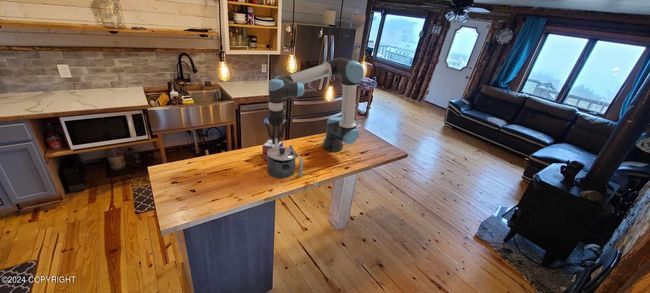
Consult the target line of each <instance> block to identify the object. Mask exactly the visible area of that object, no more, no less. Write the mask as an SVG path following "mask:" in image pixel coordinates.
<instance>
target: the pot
mask: <svg viewBox="0 0 650 293" xmlns="http://www.w3.org/2000/svg"><path fill="white" fill-rule="evenodd" d="M291 147H293V144H289V147H288V148H290V149H291ZM296 157H297V156H296ZM296 157H295V158H294V159H292V160H289V161H278V160H274V159H272V158H270V157H269V156H267V160H266V172H267V173H268V175H269V176H270V177H273V178H275V179H287V178H290V177H291V176H293V175H295V172H296V160H297V159H296ZM303 170H304V158H301V159H299V169H298V177H299V178H302V177H303V174H304V173H303Z"/></svg>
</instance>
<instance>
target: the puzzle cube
mask: <svg viewBox="0 0 650 293" xmlns="http://www.w3.org/2000/svg"><path fill="white" fill-rule="evenodd" d="M272 147H274V144H273V143H272V139H268V140H267V141H266V142H265V143H264V144H262V160H265V161H267V156H268V155H267V151H268V149H270V148H272ZM278 147H284V142H282V141H279V143H278Z"/></svg>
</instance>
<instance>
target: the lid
mask: <svg viewBox="0 0 650 293" xmlns="http://www.w3.org/2000/svg"><path fill="white" fill-rule="evenodd" d="M267 155H268V156H269V157H270V158H272V159H274V160H278V161H289V160H292V159H294V158H295V157H297V158H298V159H299V160H300V159H302V158H301V156H300V155H299V154H298V153H297V151H296V150H295V149H294V148H293V147H291V149H290V148H289V147H287V146H283V147H278V149H276V150H275V149H274V147H272V148H270V149H268V151H267Z"/></svg>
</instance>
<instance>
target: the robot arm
mask: <svg viewBox="0 0 650 293" xmlns="http://www.w3.org/2000/svg"><path fill="white" fill-rule="evenodd" d="M364 74H365V69H364V66H363V65H362V64H361V63H360V62H358V61H357V60H352V59H348V58H346V57H338V58H337V57H336V58H333V59H330V60H326V61H324V62H323V63H322V64H320V65H316V66H314V67H311V68H307V69H304V70H300V71H298V72H294V73H291V74H289V75H285V76H282V75H278V76H275V77H274V78H272V79H270V80H269V81H268V88H267V89H268V118H267V120H266V121H265V120H264V122H263V124H264V125H265V128H266V131H267V135H268V138H269V139H271V140H272V143H273V144H274V149H275V150H276V149H278V143H279V142H280V139H281V138H283V136H284V133H285V128H286V125H287V124H288V120H287V119H284V98H285V99H286V98H297V97H298V98H299V97H302V96H304V94H305V86H304V85H305V84H308V83H312V82H313V81H314V82H315V81H317V80H320V79H323V78H326V77H327V78H331V77H337V78H339V79H340V80H339V83H340V85H341V86H342V90H341V91H342V92H341V94H342V95H341V114H340V115H341V116H330V117H328V118H327V122H326V132H325V137H324V139H323V142H322V145H321V146H322V149H323V150H324V151H327V152H331V153H337V152H341V151H343V149H344V148H343V147H344V145H343V143H344V144H346V145H352V144H354V143H356V142H357V140H358V139H359V136H360V132H359V129H357V122H355V116H356V114H355V112H356V101H357V99H356V98H357V87H358V86H359V84H360V82H361V81H362V80H363V78H364ZM270 125H271V128H270Z"/></svg>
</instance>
